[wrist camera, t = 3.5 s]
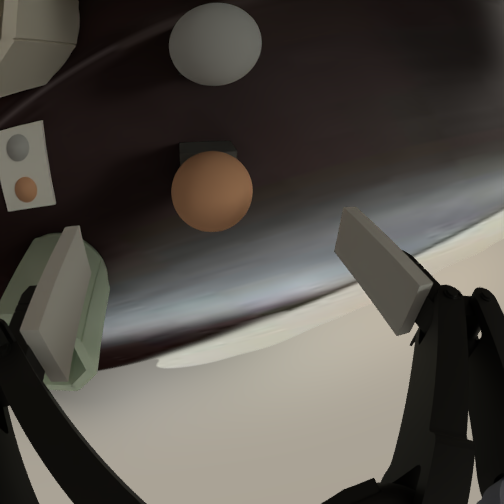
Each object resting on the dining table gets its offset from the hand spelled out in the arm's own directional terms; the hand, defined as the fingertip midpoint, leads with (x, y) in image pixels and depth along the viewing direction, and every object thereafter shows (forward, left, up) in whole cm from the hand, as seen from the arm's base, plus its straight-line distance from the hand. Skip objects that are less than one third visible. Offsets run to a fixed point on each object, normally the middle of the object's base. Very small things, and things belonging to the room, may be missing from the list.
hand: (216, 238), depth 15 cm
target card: (-2, -15, -10) cm, 18 cm away
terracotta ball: (0, 0, -8) cm, 8 cm away
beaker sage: (+9, -13, -10) cm, 19 cm away
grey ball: (-9, 0, -8) cm, 12 cm away
